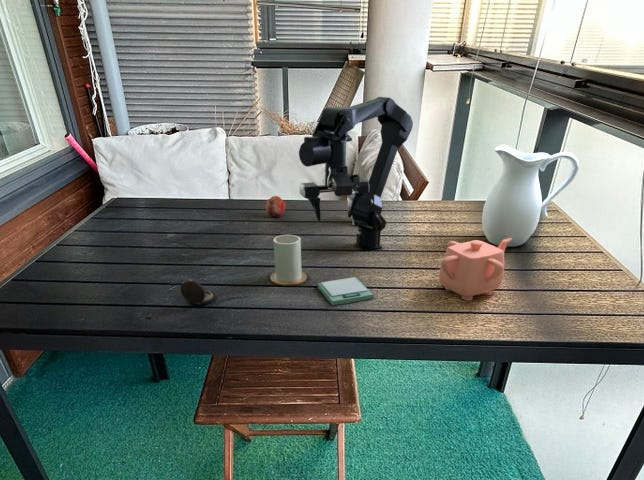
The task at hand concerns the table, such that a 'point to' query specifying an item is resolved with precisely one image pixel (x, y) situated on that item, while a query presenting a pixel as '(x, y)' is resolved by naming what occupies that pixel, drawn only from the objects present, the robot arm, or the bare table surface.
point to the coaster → (274, 280)
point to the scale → (344, 291)
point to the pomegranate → (275, 206)
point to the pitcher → (519, 195)
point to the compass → (196, 293)
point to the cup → (287, 258)
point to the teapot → (473, 267)
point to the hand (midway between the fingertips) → (334, 219)
